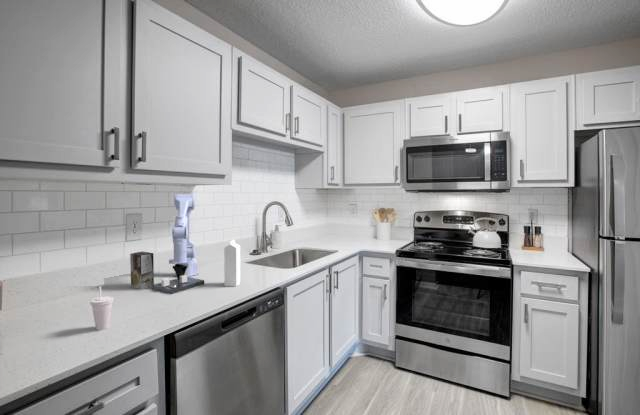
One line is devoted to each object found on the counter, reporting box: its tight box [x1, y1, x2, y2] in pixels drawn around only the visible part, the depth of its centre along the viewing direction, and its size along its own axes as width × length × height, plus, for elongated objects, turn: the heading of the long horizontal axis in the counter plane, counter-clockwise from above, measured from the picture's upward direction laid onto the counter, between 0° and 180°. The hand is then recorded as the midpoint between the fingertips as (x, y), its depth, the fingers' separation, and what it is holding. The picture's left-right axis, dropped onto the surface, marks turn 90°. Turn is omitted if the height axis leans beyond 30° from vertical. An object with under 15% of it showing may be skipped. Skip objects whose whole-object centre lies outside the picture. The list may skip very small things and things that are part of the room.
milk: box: [223, 239, 241, 287], centre depth 158 cm, size 6×6×22 cm
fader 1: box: [161, 277, 171, 287], centre depth 148 cm, size 3×2×3 cm, turn 150°
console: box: [151, 276, 205, 295], centre depth 154 cm, size 18×14×3 cm
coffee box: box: [129, 251, 155, 290], centre depth 154 cm, size 9×6×16 cm
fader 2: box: [180, 275, 187, 283], centre depth 154 cm, size 3×2×3 cm, turn 150°
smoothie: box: [90, 285, 114, 331], centre depth 107 cm, size 6×6×14 cm
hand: (180, 279), depth 155 cm, fingers closed
